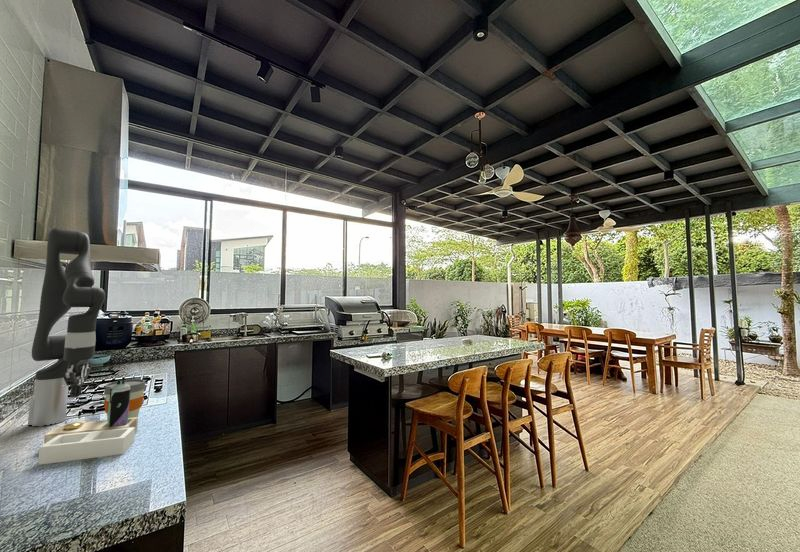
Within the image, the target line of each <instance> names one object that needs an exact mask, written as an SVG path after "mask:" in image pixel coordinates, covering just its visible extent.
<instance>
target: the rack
mask: <svg viewBox="0 0 800 552" xmlns="http://www.w3.org/2000/svg"><path fill="white" fill-rule="evenodd" d="M135 434H136V433H135V427H131V428H121V429H111V430H102V431H92V432H83V433H73V434H64V435H58V436H56V437H55V438H53V439H52V440H50V441H48V442H47V443H45V444H44V443H43V444H42V445H41V446H39V449H38V462H37V466H40V465H48V464H55V463H56V464H58V463H62V462H73V461H78V460H81V461H82V460H87V459H94V458H95V459H96V458H102V457H110V456H112V457H113V456H118V455H123V454H124V453H126V451H127V450H129V448H130V447H131V446H132V445H133V444H134V443H135V438H136V437H135Z"/></svg>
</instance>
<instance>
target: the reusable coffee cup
mask: <svg viewBox="0 0 800 552" xmlns="http://www.w3.org/2000/svg"><path fill="white" fill-rule="evenodd" d="M123 380H124V382H125V383H126V384H128V385H130V400H129V414H128V418H135V417H138V418H139V414H140V409H141V407H142V406H143V401H144V397H145V394H144V390H145V389H146V380H144V379H140V378H139V379H138V378H137V379H136V378H135V379H123ZM117 383H118V380H117V381H112V382H110V383H109V382H108V383H107V384H105V386H104V390H103V394H105V397H104V398H105V399H104V402H103V403H104V413H106V418H107V419H106V420H108V410H109V397H110V390H111V387H113V386H115V385H116V384H117Z"/></svg>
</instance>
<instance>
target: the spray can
mask: <svg viewBox="0 0 800 552" xmlns="http://www.w3.org/2000/svg"><path fill="white" fill-rule="evenodd" d="M124 380H125V379H118V380H117V381H118V383H117V384H116V385H115V386H113V387H111V390H110V397H109V410H108V423H107V427H115V426H125V425H126V424H127V423H128V414H129V400H130V385H128V384H126V383H125V382H124Z"/></svg>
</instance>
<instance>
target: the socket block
mask: <svg viewBox="0 0 800 552" xmlns="http://www.w3.org/2000/svg"><path fill="white" fill-rule="evenodd" d="M138 422H139V416H138V417H135V418H128V423H127V424H126V425H125V426H115V427H107V423H108V420H107V419H106V420H104V419H103V420H97V421H96V420H94V421H84V422H82V427H80V428H78V429H73V430H64V426H65V425H67V424H68V423H64V424H60V425H58V426H57V427H56V428H53V429H51V431H49V432H48V433H45V434H44V438H43V441H44V442H43V445H44V444H45V443H47V442H48V441H50V440H52V439H53V438H55V437H56V436H58V435H64V434H73V433H83V432H92V431H102V430H111V429H121V428H131V427H135V434H136V433H137V432H138V425H139V423H138Z"/></svg>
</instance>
